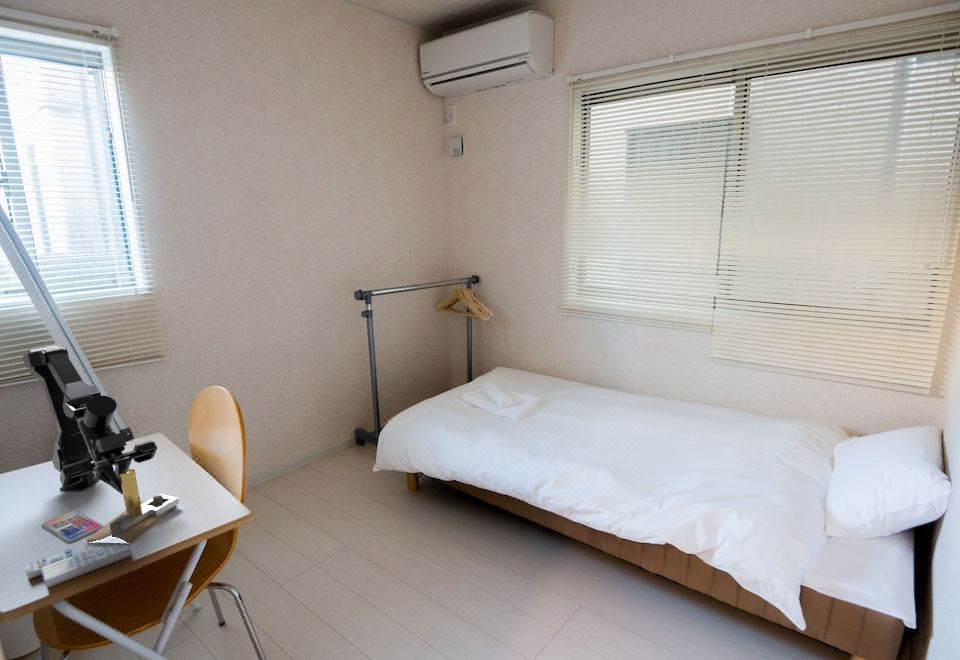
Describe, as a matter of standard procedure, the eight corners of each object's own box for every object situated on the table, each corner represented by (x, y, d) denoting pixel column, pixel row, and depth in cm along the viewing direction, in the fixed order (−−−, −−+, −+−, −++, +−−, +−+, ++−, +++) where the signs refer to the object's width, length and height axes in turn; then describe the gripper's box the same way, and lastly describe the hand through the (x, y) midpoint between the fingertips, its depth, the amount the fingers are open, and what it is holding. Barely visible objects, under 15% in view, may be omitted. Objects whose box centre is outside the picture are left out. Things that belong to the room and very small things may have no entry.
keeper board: (87, 543, 117) (83, 525, 116) (138, 504, 132) (136, 489, 131) (129, 544, 116) (126, 527, 115) (176, 505, 131) (173, 489, 130)
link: (161, 499, 132) (153, 453, 129) (178, 503, 130) (171, 456, 127) (108, 529, 120) (98, 479, 117) (126, 534, 118) (117, 483, 115)
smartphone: (75, 509, 130) (105, 525, 122) (76, 512, 130) (106, 529, 123) (39, 523, 124) (68, 541, 116) (40, 527, 124) (69, 545, 116)
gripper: (54, 433, 114) (79, 494, 110) (148, 409, 128) (174, 462, 124) (50, 457, 120) (73, 516, 116) (140, 431, 135) (164, 483, 130)
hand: (123, 493), depth 121 cm, fingers closed, pressing on link
